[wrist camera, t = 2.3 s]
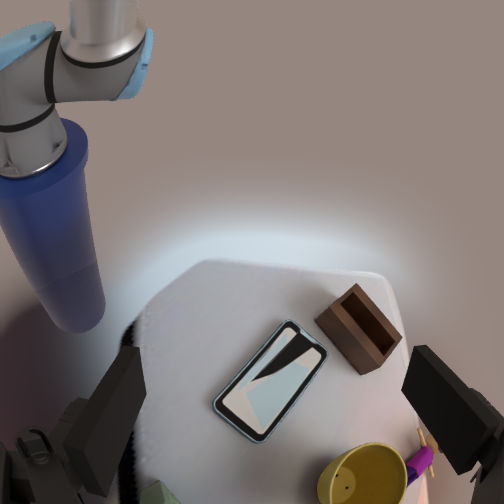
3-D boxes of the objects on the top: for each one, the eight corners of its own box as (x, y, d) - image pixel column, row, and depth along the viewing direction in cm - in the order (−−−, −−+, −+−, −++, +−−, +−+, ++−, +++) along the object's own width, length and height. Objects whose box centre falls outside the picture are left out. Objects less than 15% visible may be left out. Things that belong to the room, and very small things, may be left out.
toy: (383, 518, 28) (442, 452, 35) (413, 527, 23) (469, 453, 30) (364, 471, 29) (428, 404, 37) (397, 479, 25) (459, 403, 32)
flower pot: (316, 436, 32) (349, 430, 26) (378, 458, 32) (416, 453, 26) (284, 510, 26) (314, 521, 20) (353, 526, 25) (390, 533, 20)
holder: (313, 321, 41) (329, 306, 38) (340, 297, 45) (356, 282, 42) (360, 376, 38) (380, 367, 35) (383, 348, 42) (403, 337, 39)
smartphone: (208, 404, 31) (288, 316, 39) (207, 405, 31) (285, 318, 40) (260, 447, 29) (331, 352, 38) (258, 447, 30) (327, 355, 39)
